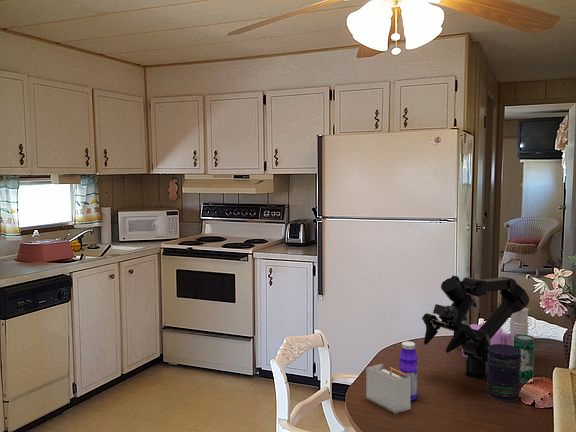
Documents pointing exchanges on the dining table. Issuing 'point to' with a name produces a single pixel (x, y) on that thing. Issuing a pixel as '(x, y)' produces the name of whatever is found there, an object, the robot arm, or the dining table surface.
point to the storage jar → (503, 372)
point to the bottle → (409, 365)
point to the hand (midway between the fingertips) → (435, 348)
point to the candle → (519, 323)
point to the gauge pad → (393, 373)
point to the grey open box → (388, 389)
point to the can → (525, 356)
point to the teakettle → (495, 337)
